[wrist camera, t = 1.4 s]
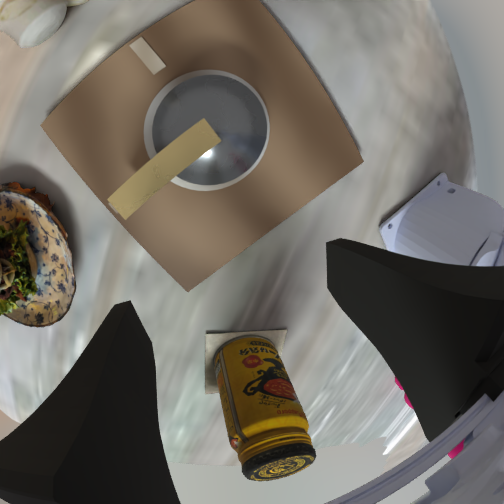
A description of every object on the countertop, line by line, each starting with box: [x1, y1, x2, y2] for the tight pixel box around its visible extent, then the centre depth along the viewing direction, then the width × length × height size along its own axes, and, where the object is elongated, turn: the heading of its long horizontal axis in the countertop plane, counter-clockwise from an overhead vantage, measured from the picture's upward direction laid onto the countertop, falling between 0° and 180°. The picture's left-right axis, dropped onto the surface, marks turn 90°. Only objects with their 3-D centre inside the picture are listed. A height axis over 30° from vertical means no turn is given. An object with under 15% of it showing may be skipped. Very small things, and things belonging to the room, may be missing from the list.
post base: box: [40, 0, 364, 292], centre depth 16 cm, size 16×16×1 cm
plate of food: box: [0, 182, 76, 327], centre depth 13 cm, size 12×12×8 cm
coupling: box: [107, 75, 267, 220], centre depth 14 cm, size 9×6×4 cm, turn 125°
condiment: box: [205, 330, 316, 481], centre depth 20 cm, size 7×8×12 cm
